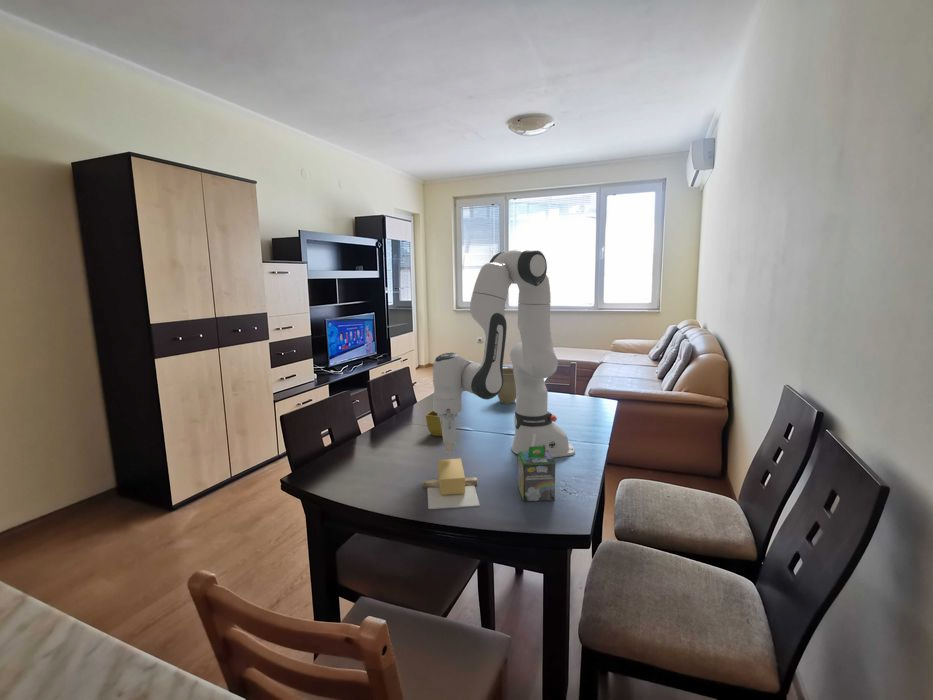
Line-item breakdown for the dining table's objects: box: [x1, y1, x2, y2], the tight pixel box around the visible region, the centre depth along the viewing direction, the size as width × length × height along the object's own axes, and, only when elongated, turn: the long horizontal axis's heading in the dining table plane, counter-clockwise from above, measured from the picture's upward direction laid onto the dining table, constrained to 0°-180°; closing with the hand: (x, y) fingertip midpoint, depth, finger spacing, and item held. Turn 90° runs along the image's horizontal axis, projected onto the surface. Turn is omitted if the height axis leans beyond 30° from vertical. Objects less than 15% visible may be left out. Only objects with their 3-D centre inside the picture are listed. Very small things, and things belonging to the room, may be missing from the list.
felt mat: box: [426, 485, 481, 510], centre depth 126 cm, size 14×12×1 cm
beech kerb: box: [423, 476, 478, 489], centre depth 134 cm, size 16×2×2 cm, turn 96°
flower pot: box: [425, 409, 443, 437], centre depth 178 cm, size 9×9×9 cm
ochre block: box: [437, 457, 466, 495], centre depth 131 cm, size 7×5×11 cm
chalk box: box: [517, 446, 556, 502], centre depth 127 cm, size 9×9×15 cm
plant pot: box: [496, 367, 516, 405], centre depth 224 cm, size 15×15×16 cm
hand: (447, 447), depth 141 cm, fingers open, 8 cm apart
